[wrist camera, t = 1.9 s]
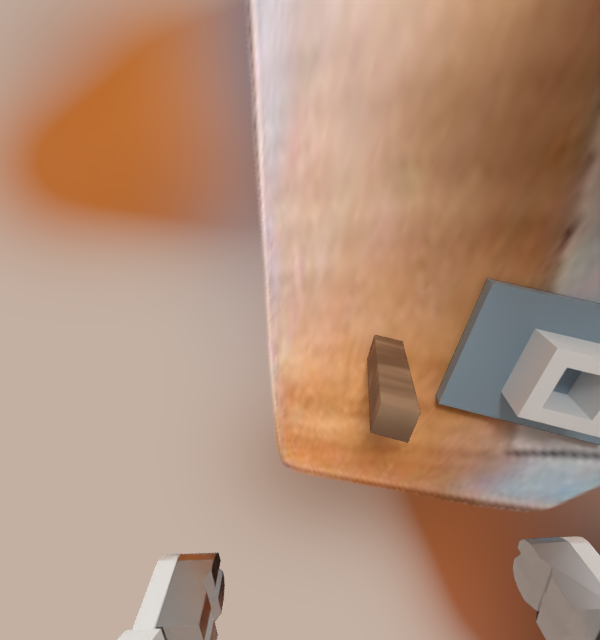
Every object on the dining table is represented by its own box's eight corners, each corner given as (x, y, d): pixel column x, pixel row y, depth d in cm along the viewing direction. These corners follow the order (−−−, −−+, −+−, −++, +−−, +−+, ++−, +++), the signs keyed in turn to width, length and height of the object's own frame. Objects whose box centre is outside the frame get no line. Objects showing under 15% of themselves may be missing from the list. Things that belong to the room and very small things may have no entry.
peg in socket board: (487, 278, 32) (510, 297, 27) (686, 323, 31) (749, 351, 26) (435, 395, 38) (447, 428, 33) (600, 437, 37) (639, 478, 32)
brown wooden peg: (374, 334, 36) (381, 402, 25) (402, 341, 36) (420, 412, 25) (367, 358, 37) (370, 432, 27) (394, 364, 37) (408, 442, 26)
